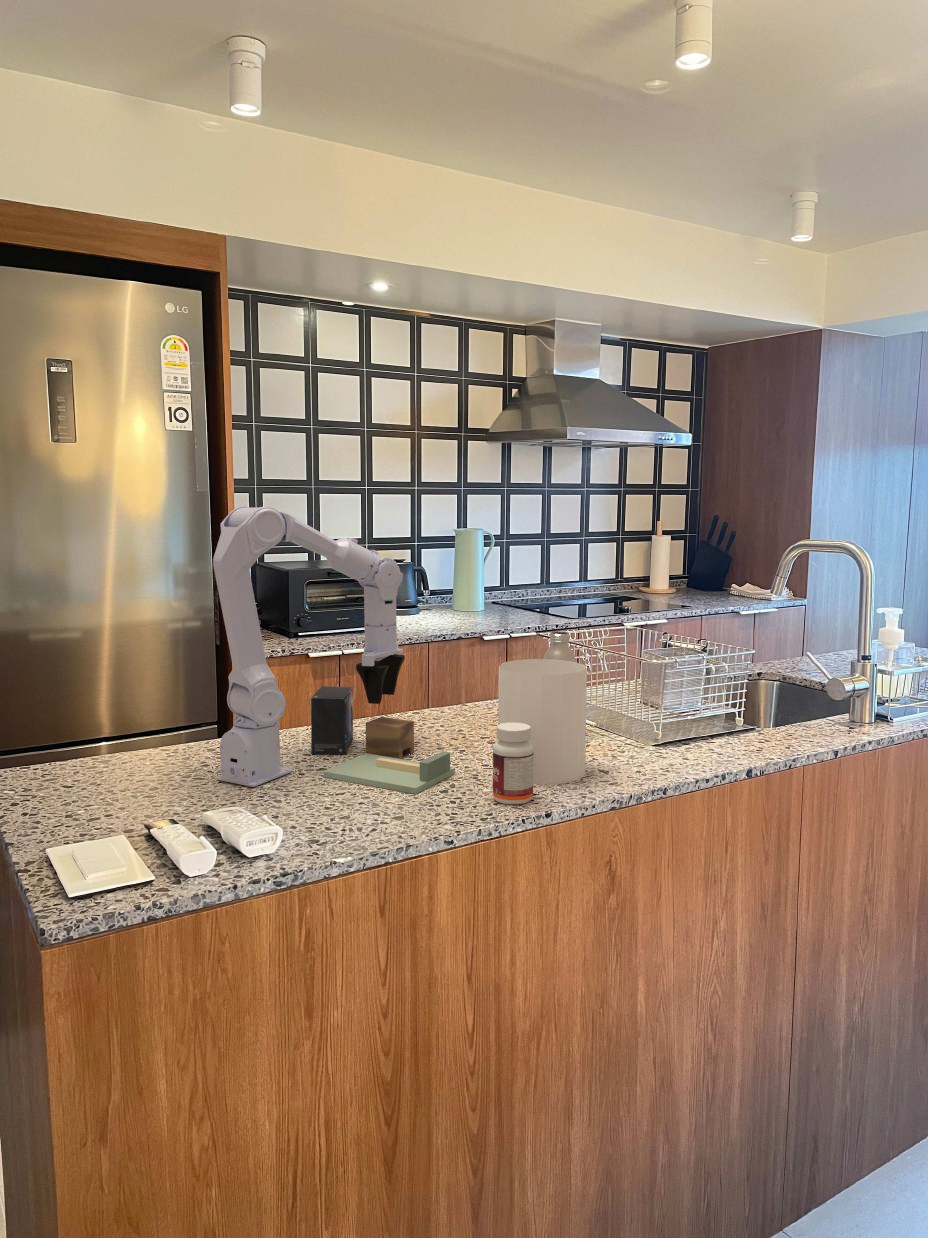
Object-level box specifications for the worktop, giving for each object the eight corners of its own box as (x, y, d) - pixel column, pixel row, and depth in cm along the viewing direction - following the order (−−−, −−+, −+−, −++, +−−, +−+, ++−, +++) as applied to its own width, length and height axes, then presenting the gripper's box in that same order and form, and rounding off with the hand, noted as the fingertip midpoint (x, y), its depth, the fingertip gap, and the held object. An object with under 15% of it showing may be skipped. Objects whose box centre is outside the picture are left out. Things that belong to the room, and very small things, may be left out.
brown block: (398, 760, 154) (398, 727, 153) (366, 755, 158) (365, 722, 157) (414, 753, 158) (413, 721, 158) (382, 748, 162) (381, 716, 161)
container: (489, 763, 153) (489, 660, 151) (566, 757, 156) (568, 657, 154) (514, 788, 139) (514, 676, 137) (598, 781, 143) (601, 672, 140)
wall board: (415, 794, 136) (415, 769, 135) (323, 777, 145) (322, 753, 144) (454, 773, 146) (454, 750, 146) (366, 758, 155) (365, 736, 155)
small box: (346, 755, 158) (345, 697, 156) (310, 755, 158) (308, 697, 156) (355, 739, 168) (353, 685, 167) (321, 739, 168) (319, 685, 167)
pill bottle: (490, 793, 137) (490, 721, 135) (529, 791, 137) (530, 720, 136) (495, 806, 130) (495, 732, 129) (536, 805, 131) (537, 730, 130)
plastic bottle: (538, 738, 169) (539, 634, 166) (545, 729, 175) (546, 629, 173) (571, 740, 167) (573, 636, 164) (577, 731, 173) (579, 631, 171)
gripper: (388, 630, 150) (389, 708, 152) (413, 619, 164) (414, 691, 166) (349, 629, 152) (351, 706, 153) (377, 618, 165) (378, 689, 167)
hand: (381, 698), depth 160 cm, fingers open, 7 cm apart
